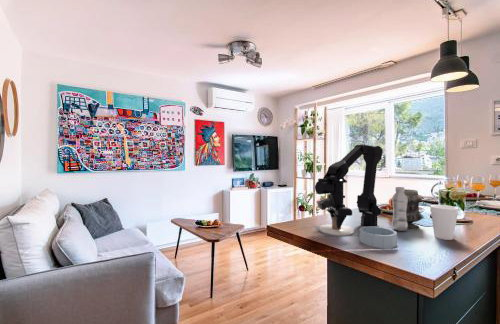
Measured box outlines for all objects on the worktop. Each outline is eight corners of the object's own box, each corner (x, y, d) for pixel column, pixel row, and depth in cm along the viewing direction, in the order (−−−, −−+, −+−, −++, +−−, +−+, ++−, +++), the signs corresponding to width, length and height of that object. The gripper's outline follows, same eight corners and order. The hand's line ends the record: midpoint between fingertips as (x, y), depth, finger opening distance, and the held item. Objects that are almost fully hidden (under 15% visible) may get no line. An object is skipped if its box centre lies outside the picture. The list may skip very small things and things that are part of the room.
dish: (383, 237, 108) (383, 226, 108) (404, 248, 95) (404, 235, 95) (353, 238, 107) (353, 226, 107) (370, 249, 94) (370, 236, 94)
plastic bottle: (405, 229, 120) (406, 186, 120) (409, 233, 114) (409, 188, 114) (390, 228, 123) (390, 186, 122) (393, 231, 116) (393, 188, 116)
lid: (345, 225, 124) (345, 213, 124) (360, 235, 109) (360, 221, 109) (315, 226, 123) (315, 214, 123) (326, 236, 108) (326, 222, 108)
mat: (345, 226, 125) (345, 225, 125) (362, 237, 109) (362, 235, 109) (313, 227, 124) (313, 226, 124) (325, 238, 108) (325, 236, 108)
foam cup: (450, 242, 102) (450, 209, 102) (425, 236, 110) (425, 206, 110) (462, 238, 106) (462, 207, 106) (437, 233, 114) (437, 204, 114)
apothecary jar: (405, 222, 132) (405, 188, 132) (428, 228, 121) (428, 191, 121) (387, 224, 129) (387, 189, 128) (409, 231, 117) (409, 192, 117)
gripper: (312, 190, 125) (312, 222, 125) (327, 196, 106) (326, 233, 106) (335, 190, 125) (334, 221, 126) (353, 195, 107) (352, 233, 107)
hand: (336, 227), depth 116 cm, fingers closed on lid, 4 cm apart
